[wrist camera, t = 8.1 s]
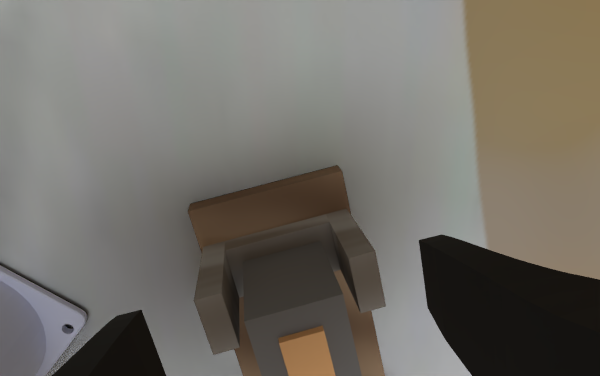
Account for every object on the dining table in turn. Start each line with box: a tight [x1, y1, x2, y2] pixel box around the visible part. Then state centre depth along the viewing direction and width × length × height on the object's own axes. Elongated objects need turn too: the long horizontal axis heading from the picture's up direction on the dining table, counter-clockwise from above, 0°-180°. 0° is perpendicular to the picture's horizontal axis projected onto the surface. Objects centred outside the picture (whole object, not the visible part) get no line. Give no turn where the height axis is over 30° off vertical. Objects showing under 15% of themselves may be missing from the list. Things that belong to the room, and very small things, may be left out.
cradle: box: [188, 166, 386, 376], centre depth 21 cm, size 16×7×6 cm, turn 13°
